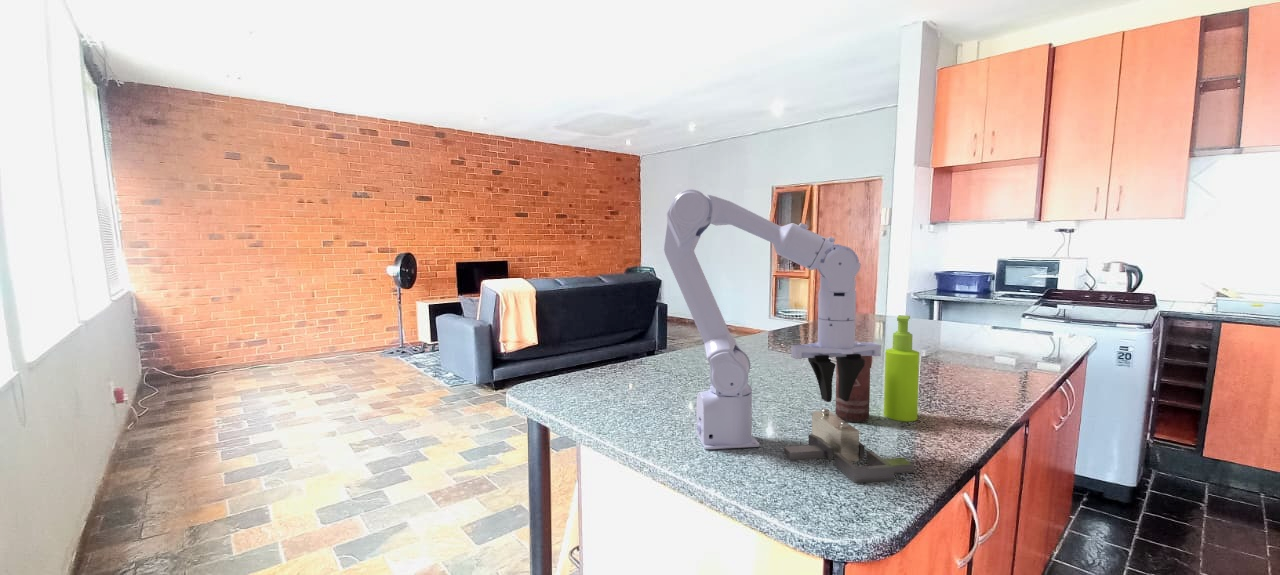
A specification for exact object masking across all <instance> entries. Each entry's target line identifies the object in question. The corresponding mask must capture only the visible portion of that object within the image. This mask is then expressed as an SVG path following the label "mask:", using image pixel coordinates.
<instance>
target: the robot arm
mask: <svg viewBox="0 0 1280 575" xmlns="http://www.w3.org/2000/svg"><path fill="white" fill-rule="evenodd" d="M666 217H667V218H666V219H667V220H666V222H667V223H666V230H665V239H664V243H663V244H664V245H663V250H664V255H665V257H666V259H667V262H668V264H669V266H670V269H671V271H672V273H673V276H674V278H675V280H676V283H677V284H678V287H679V289H680V291H681V293H682V297H683V298H684V300H685V303H686V306H687V308H688V310H689V312H690V315H691V316H692V319H693V321H694V324H695V326H696V329H697V331H698V333H699V336H700V337H701V340H702V341H703V344H704V350H705V355H706V359H707V361H708V364H709V370H710V371H709V380H710V382H711V384H710V386H709V389H707V390H704V391H699V392H697V395H696V408H695V409H696V412H695V413H696V430H695V434H696V436H697V437H698V439H699V441H700V444H702V446H703V448H704V449H705V450H720V449H721V450H722V449H724V450H725V449H737V448H738V449H739V448H740V449H741V448H743V449H744V448H759V447H760V445H761V444H760V443H759V441H758V440H757V439H756V438H755V436H754V435H753V434H752V429H753V428H752V425H753V423H752V422H753V420H752V419H753V418H752V417H753V416H752V415H753V411H752V409H753V404H752V403H753V401H752V400H753V388H752V386H751V385H749V383H748V381H749V373H750V370H751V360H750V357H749V356H748V354H746V352H745V351H744V350H742V349H741V348H740V347H739V346H738V344H737V342H736V339H735V338H734V336H733V335H732V334H731V332H730V330H729V328H728V326H727V323H726V321H725V319H724V317H723V314H722V311H721V309H720V307H719V305H718V304H717V301H716V299H715V296H714V294H713V292H712V290H711V287H710V284H709V283H708V280H707V278H706V275H705V273H704V270H703V269H702V266H701V264H700V262H699V259H698V258H697V255H696V252H695V250H696V247H697V245H698V243H699V240H700V238H701V235H702V234H703V233H704V232H705V231H706V230H707V229H708V228H709V226H711V225H714V226H728V225H730V226H733V227H735V228H738V229H741V230H742V231H744V232H747V233H750V234H752V235H754V236H756V237H758V238H761V239H763V240H765V241H767V242H770V243H771V244H772V245H773V248H774V251H775V253H776V255H778V256H780V257H782V258H784V259H786V260H788V261H791V262H793V263H795V264H797V265H798V266H801V267H804V268H806V269H808V270H810V271H813V270H817V271H818V273H819V274H820V276H819V290H818V299H817V300H818V303H817V304H818V305H817V306H818V309H817V310H818V311H817V342H813V343H805V344H796V345H791V346H790V348H791V349H790V350H791V353H790V355H791V356H790V357H792V359H794V360H802V359H807V360H808V362H809V365H810V367H811V368H812V370H813V373H814V375H815V378H816V381H817V384H818V387H819V392H820V397H821V400H822V401H824V402H826V403H831V402H832V397H833V379H834V373H835V370H836V363H834V361H833V362H832V361H831V360H832V359H831V358H835V360H837V366H838V376H839V383H838V394H839V398H840V399H842V400H844V401H849V398H850V394H851V391H852V388H853V385H854V383H855V380H856V378H857V376H858V375H859V373H860V371H861V370H862V368H863V367H864V366H865V360H864V359H862V358H861V356H872V357H882V355H881V354H882V344H880V343H876V342H856V317H857V316H856V314H857V313H856V312H857V310H856V309H857V291H856V285H857V279H856V276H857V275H858V274H859V272H860V269H861V263H860V261H859V257H858V254H856V252H855V250H853V249H852V248H851V247H848V246H846V245H842V244H834V243H835V241H836V239H835V238H834V237H832V236H828V238H827V237H825V236H823V235H821V234H818V233H816V232H813V231H812V230H810V229H808V227H809V226H808V225H807V224H806V223H803V222H800V223H799V224H796V223H794V222H792V223H788V224H785V225H779V224H777V223H775V222H772V221H770V220H769V219H767V218H764V217H763V216H761V215H759V214H757V213H755V212H753V211H751V210H748V209H747V208H745V207H743V206H740V205H738V204H737V203H734V202H732V201H730V200H726V199H724V198H721V197H718V196H715V195H711V194H707V196H706V195H705V194H703V192H701V191H699V190H696V189H693V188H692V189H685V190H682V191H681V192H679V193H678V194H677V195H676V196H675V197H674V199H673V201H672V203H671V205H670V206H669V208H668V210H667V213H666Z"/></svg>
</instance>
